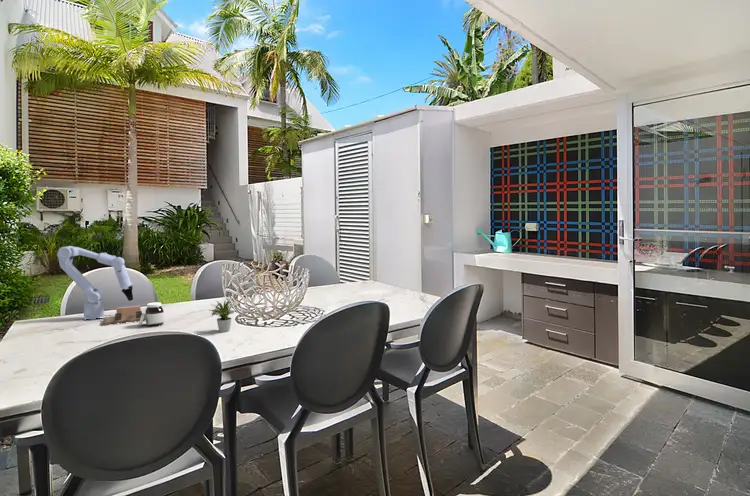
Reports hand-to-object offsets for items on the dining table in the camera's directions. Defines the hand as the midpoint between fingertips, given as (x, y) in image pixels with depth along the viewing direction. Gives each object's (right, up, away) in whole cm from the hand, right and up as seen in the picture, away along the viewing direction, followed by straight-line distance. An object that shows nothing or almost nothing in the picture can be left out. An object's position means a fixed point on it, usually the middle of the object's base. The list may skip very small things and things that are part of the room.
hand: (131, 299), depth 247 cm
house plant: (+65, -12, -31) cm, 73 cm away
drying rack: (+5, -10, -11) cm, 16 cm away
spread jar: (+23, -11, -21) cm, 33 cm away
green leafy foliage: (+49, -9, +22) cm, 54 cm away
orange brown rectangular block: (-1, -10, 0) cm, 10 cm away
